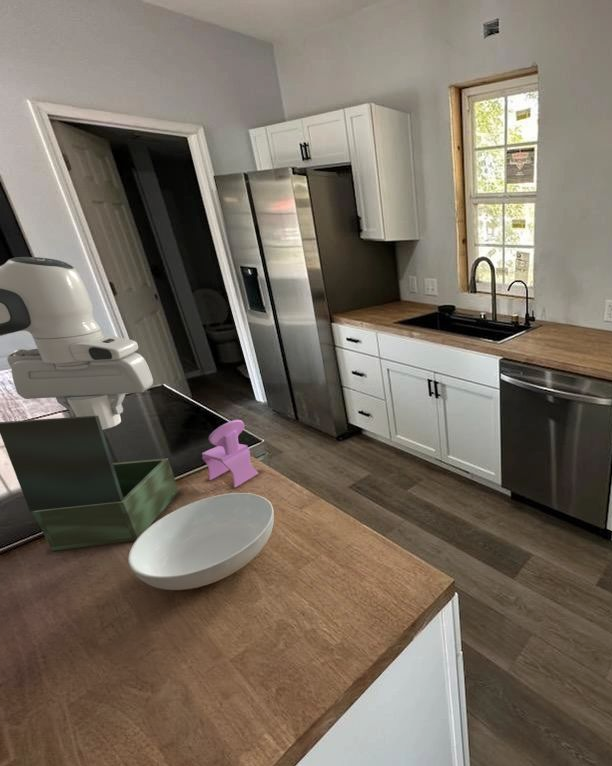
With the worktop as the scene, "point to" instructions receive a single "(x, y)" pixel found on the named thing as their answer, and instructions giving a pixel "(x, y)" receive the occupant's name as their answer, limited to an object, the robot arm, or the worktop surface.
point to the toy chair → (229, 453)
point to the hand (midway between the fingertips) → (98, 414)
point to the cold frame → (113, 509)
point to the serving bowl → (202, 541)
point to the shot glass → (95, 408)
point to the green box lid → (61, 462)
